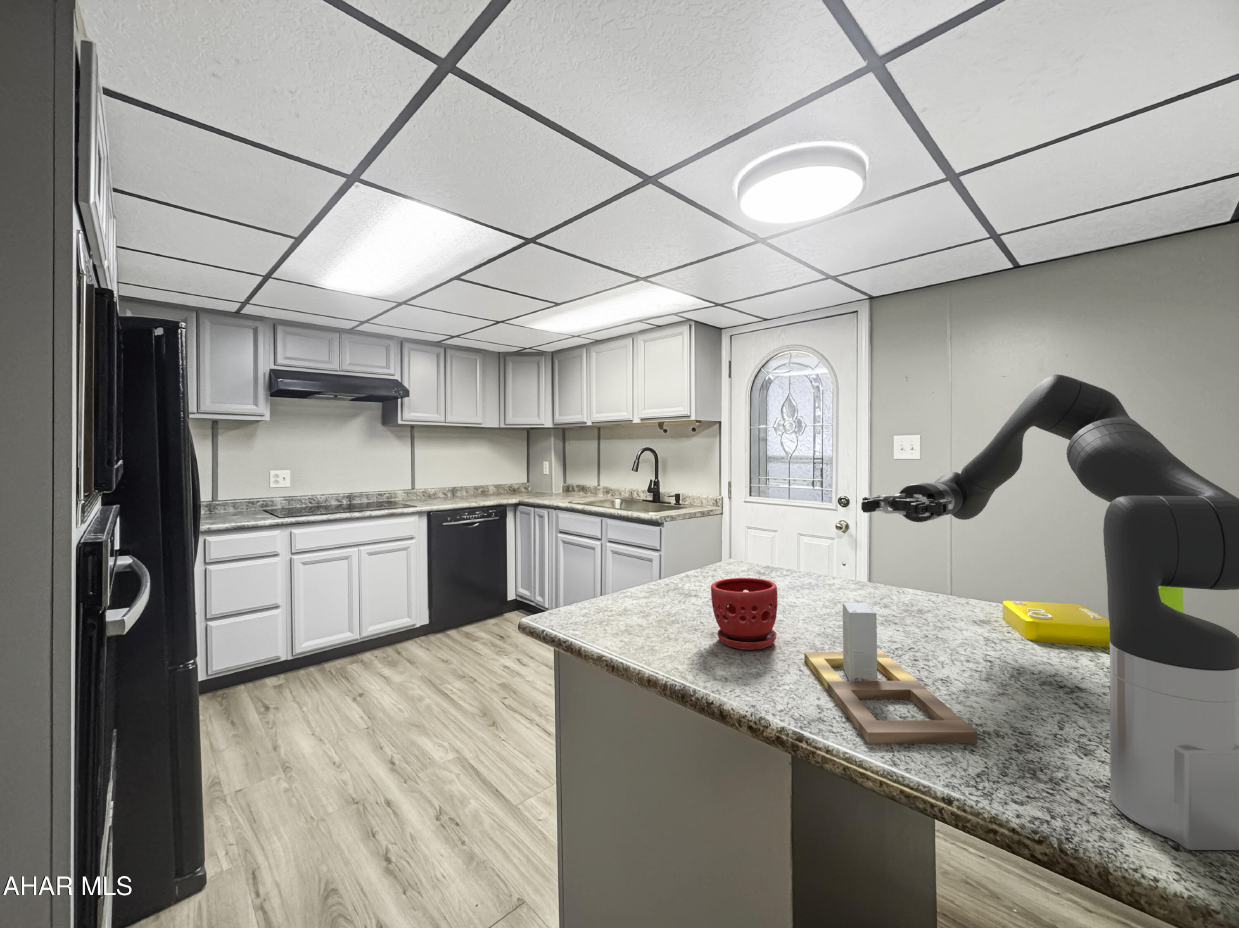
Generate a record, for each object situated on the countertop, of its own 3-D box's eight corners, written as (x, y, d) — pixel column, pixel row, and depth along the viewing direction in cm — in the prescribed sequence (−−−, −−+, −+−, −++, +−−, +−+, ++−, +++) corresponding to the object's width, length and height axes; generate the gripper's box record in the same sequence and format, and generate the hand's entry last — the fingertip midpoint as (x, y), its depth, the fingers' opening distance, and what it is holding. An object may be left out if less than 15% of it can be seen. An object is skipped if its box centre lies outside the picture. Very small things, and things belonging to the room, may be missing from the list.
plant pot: (777, 632, 109) (776, 576, 109) (779, 657, 97) (778, 593, 96) (715, 628, 113) (713, 574, 113) (709, 651, 100) (707, 590, 100)
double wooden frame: (977, 743, 67) (977, 731, 67) (868, 743, 68) (867, 732, 68) (882, 659, 94) (882, 651, 94) (804, 660, 95) (804, 652, 95)
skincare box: (878, 686, 84) (877, 613, 83) (850, 684, 85) (849, 612, 84) (868, 670, 90) (867, 602, 89) (842, 669, 91) (841, 601, 90)
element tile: (1124, 650, 96) (1124, 625, 96) (1027, 643, 101) (1027, 618, 101) (1082, 624, 110) (1082, 601, 110) (999, 618, 115) (999, 597, 115)
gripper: (889, 481, 108) (849, 486, 99) (966, 483, 97) (930, 489, 87) (889, 517, 109) (849, 525, 99) (967, 523, 97) (930, 533, 87)
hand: (887, 508), depth 93 cm, fingers open, 8 cm apart
